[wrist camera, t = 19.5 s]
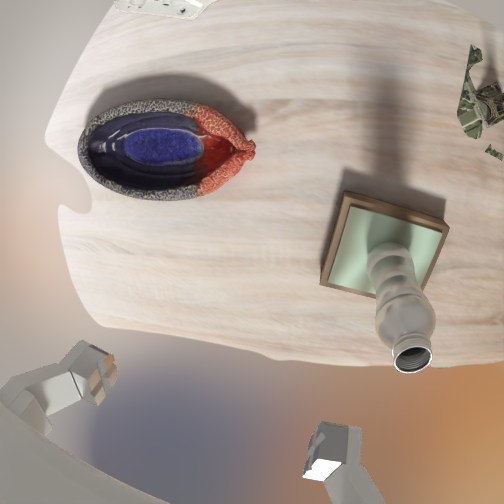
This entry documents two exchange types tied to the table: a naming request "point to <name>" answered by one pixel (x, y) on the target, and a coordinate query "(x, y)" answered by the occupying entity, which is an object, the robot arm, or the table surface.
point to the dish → (163, 149)
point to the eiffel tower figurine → (480, 104)
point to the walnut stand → (378, 241)
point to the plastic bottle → (401, 307)
